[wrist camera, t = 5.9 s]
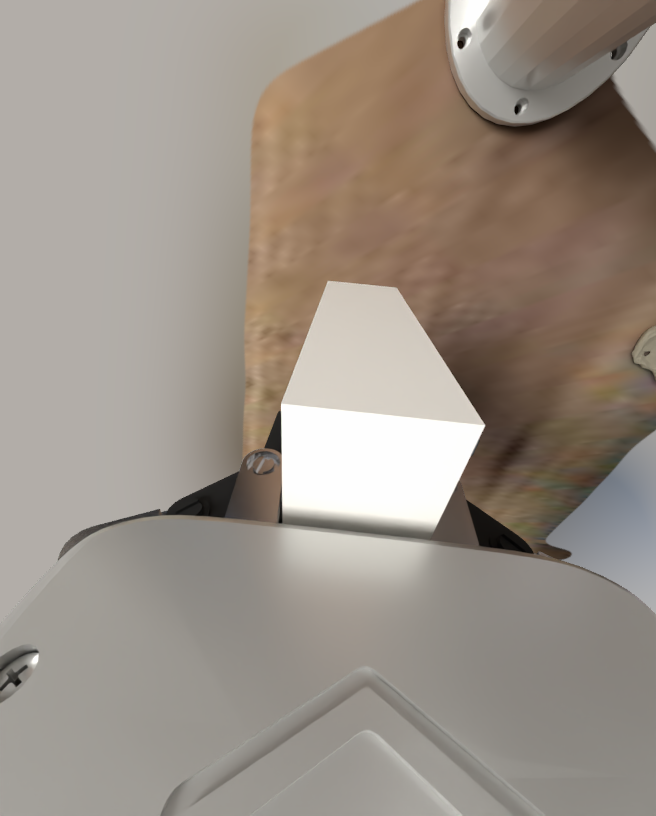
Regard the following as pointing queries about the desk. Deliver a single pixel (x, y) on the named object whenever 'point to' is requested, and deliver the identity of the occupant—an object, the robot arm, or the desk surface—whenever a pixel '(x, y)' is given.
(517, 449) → the desk surface
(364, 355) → the door
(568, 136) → the desk surface
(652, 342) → the jawbone
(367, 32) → the desk surface
